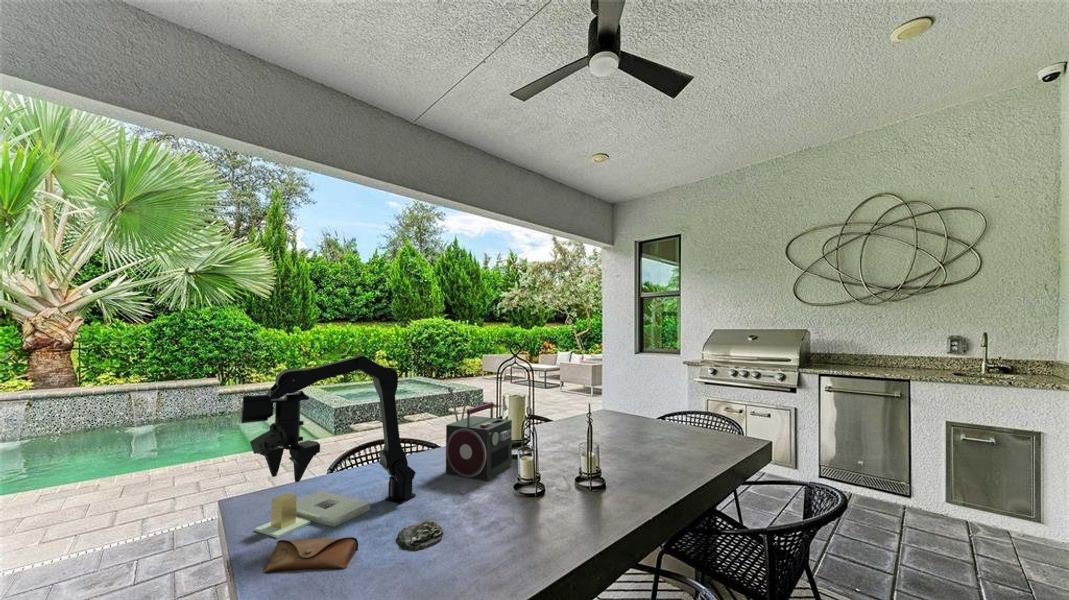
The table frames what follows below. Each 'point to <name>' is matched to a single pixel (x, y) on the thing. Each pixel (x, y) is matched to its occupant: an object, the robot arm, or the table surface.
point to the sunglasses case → (312, 554)
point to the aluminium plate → (330, 508)
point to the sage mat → (278, 532)
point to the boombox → (478, 444)
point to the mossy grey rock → (420, 536)
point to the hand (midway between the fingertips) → (285, 479)
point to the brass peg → (283, 510)
